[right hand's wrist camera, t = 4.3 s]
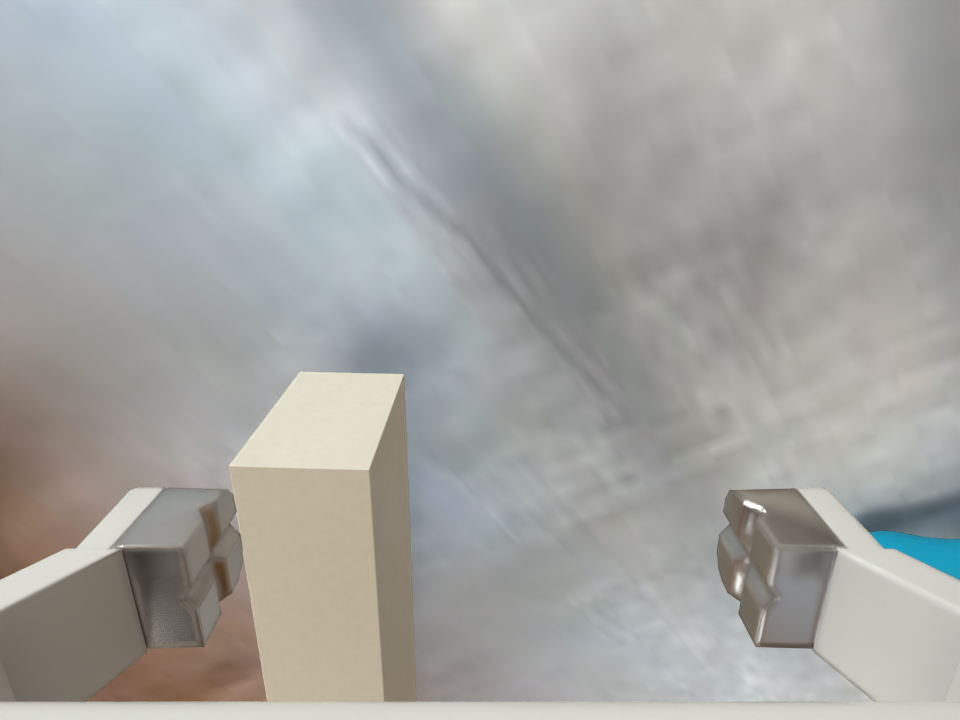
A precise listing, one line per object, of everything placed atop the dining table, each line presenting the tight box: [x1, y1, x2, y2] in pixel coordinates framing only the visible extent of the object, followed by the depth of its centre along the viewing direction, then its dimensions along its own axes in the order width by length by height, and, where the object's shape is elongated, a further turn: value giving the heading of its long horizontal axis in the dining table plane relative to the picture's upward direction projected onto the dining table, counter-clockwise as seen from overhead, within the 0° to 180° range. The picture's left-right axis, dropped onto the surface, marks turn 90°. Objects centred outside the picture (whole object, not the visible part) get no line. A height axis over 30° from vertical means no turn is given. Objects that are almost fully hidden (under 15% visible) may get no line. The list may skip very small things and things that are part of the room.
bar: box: [229, 372, 417, 702], centre depth 31 cm, size 28×5×8 cm, turn 179°
